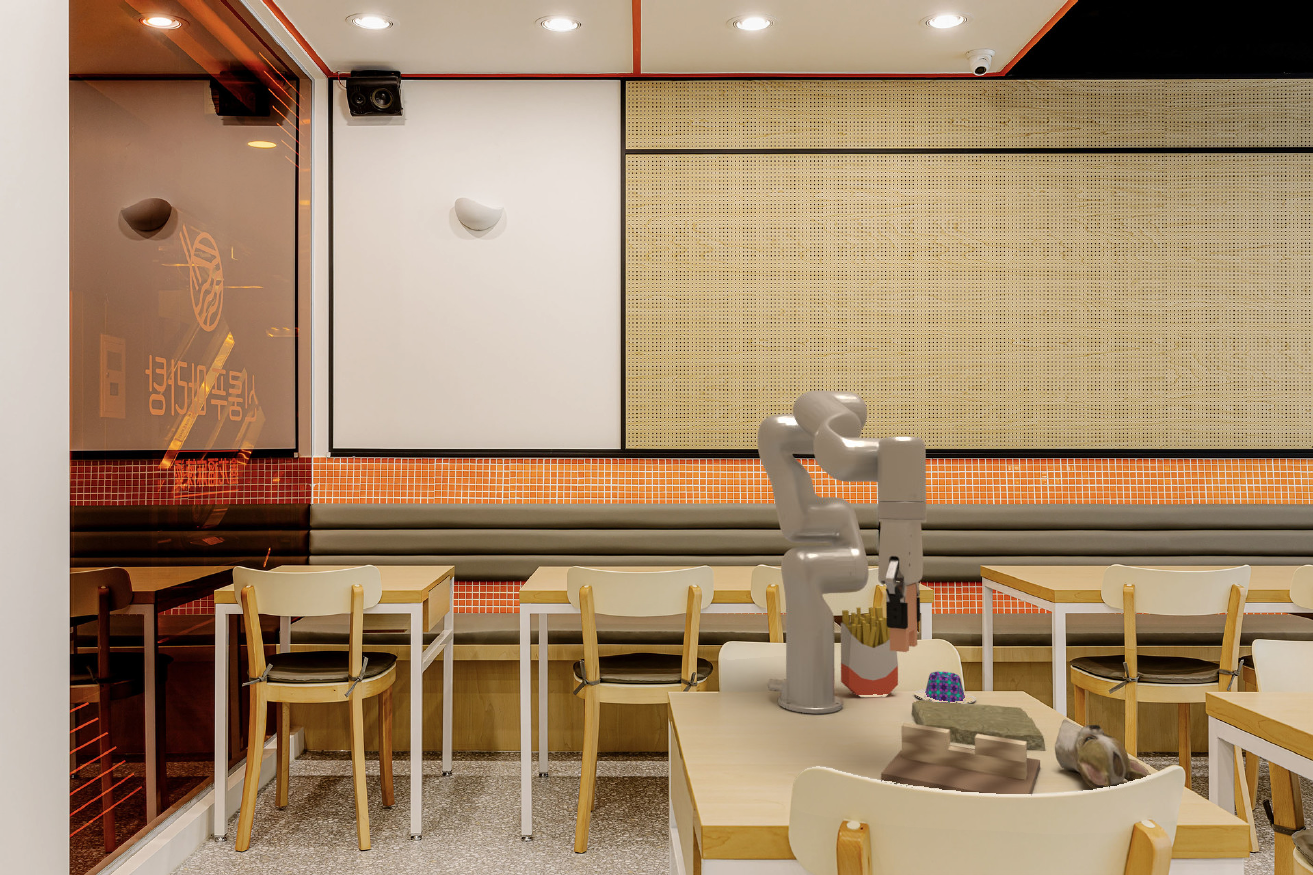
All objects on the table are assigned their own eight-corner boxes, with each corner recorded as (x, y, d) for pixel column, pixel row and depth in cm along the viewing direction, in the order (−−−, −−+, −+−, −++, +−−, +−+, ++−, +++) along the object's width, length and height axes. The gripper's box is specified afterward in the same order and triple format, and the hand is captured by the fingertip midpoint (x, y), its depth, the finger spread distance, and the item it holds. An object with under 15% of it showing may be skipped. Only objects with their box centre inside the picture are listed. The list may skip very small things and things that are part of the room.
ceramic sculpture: (1093, 707, 132) (1168, 742, 118) (1091, 760, 132) (1167, 802, 118) (1034, 711, 130) (1104, 747, 115) (1033, 765, 130) (1103, 808, 116)
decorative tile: (911, 715, 159) (911, 696, 159) (1022, 722, 155) (1022, 703, 155) (922, 746, 141) (922, 725, 141) (1048, 755, 137) (1048, 733, 137)
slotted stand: (881, 781, 123) (880, 739, 123) (910, 745, 139) (910, 708, 140) (1026, 809, 113) (1026, 763, 113) (1040, 767, 129) (1039, 727, 130)
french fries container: (898, 697, 170) (898, 609, 171) (849, 699, 168) (849, 610, 169) (888, 691, 175) (888, 606, 176) (840, 693, 173) (840, 607, 174)
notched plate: (889, 650, 129) (889, 586, 129) (901, 643, 135) (901, 581, 135) (906, 652, 127) (905, 587, 128) (917, 644, 133) (916, 582, 134)
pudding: (976, 695, 173) (976, 670, 173) (975, 710, 162) (974, 683, 162) (917, 689, 178) (916, 665, 178) (911, 703, 166) (911, 677, 167)
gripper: (893, 511, 142) (895, 615, 141) (862, 513, 127) (864, 630, 126) (938, 512, 138) (940, 619, 137) (911, 514, 123) (913, 635, 122)
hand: (903, 623), depth 131 cm, fingers closed on notched plate, 7 cm apart
